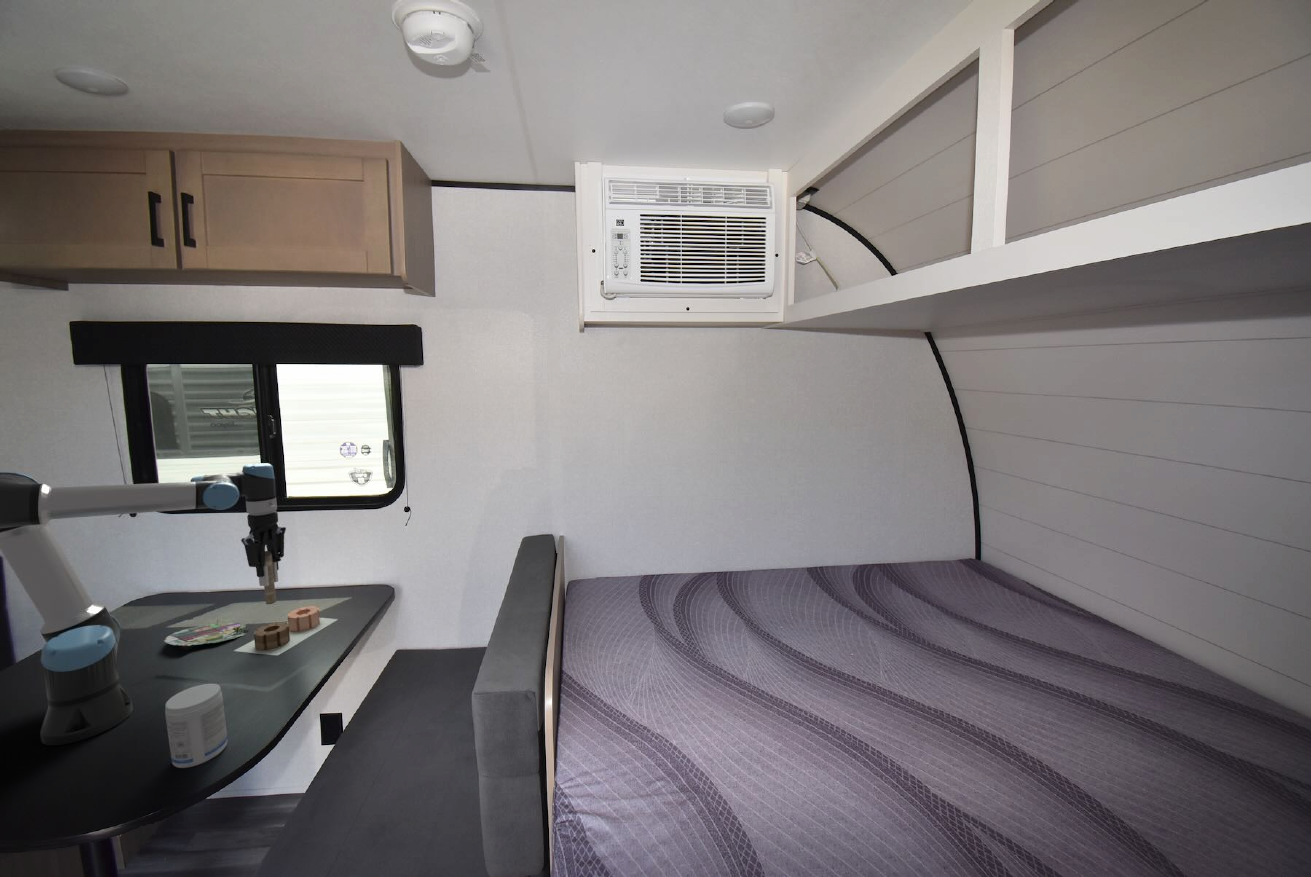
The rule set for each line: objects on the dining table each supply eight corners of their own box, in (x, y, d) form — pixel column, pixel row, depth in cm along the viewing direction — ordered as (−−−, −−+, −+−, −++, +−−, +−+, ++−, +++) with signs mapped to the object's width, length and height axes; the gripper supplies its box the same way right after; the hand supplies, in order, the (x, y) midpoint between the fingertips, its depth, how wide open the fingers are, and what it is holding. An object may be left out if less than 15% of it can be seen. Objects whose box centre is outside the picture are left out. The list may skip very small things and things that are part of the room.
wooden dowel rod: (270, 604, 157) (265, 552, 155) (263, 604, 157) (258, 552, 155) (278, 601, 159) (273, 549, 157) (271, 600, 160) (266, 549, 158)
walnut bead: (272, 651, 154) (271, 636, 154) (248, 649, 156) (246, 634, 155) (296, 637, 163) (295, 623, 162) (273, 635, 164) (272, 621, 164)
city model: (278, 629, 176) (278, 612, 176) (212, 657, 152) (213, 637, 152) (215, 626, 178) (215, 609, 178) (141, 653, 155) (141, 634, 155)
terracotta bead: (304, 632, 166) (303, 618, 166) (282, 630, 167) (281, 616, 167) (325, 620, 175) (324, 607, 174) (304, 618, 176) (303, 605, 176)
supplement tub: (225, 733, 120) (219, 677, 118) (230, 753, 114) (224, 694, 112) (169, 755, 113) (163, 695, 111) (172, 777, 107) (165, 714, 105)
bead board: (277, 659, 152) (277, 655, 152) (233, 654, 155) (233, 650, 155) (338, 622, 176) (338, 619, 176) (299, 618, 178) (299, 615, 178)
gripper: (248, 519, 146) (255, 594, 149) (294, 506, 162) (300, 574, 164) (227, 518, 148) (234, 592, 150) (274, 505, 163) (280, 573, 166)
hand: (268, 583), depth 157 cm, fingers closed on wooden dowel rod, 2 cm apart
